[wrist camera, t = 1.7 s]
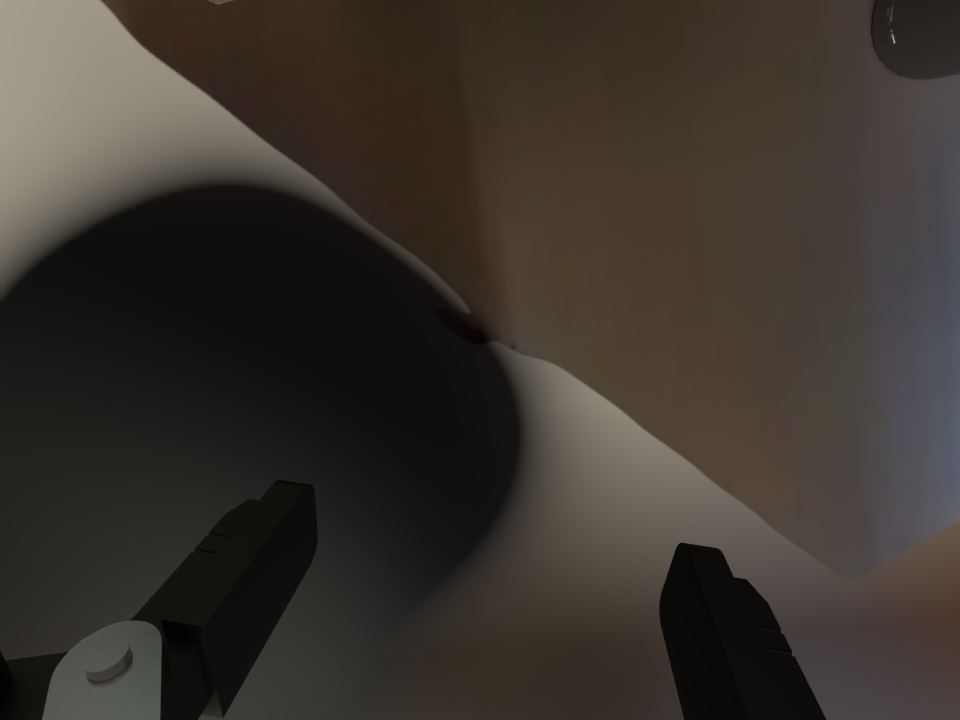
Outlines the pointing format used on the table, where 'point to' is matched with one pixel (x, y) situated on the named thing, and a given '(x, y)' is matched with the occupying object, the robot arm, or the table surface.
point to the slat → (219, 1)
